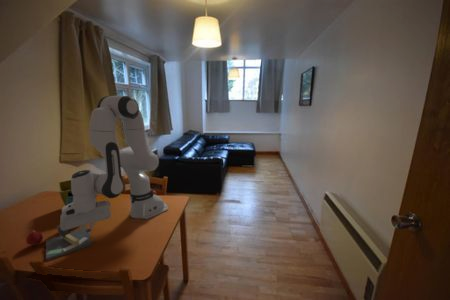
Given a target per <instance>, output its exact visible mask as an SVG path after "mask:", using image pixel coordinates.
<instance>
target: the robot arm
mask: <svg viewBox="0 0 450 300" xmlns="http://www.w3.org/2000/svg"><path fill="white" fill-rule="evenodd" d="M139 107H140V106H139V103H138V101H137V99H135V98H134V97H132V96H130V95H106V96H104V97H101V98H100V99H99V100H98V103H97V107H96V108H94V109H93V110H92V111H91V115H90V119H89V126H88V127H89V129H88V134H89V135H88V136H89V141H90V142H89V143H90V144H91V146H92V147H93V148H94V149H96V150H97V151H98V152H99V153H100V154H101V156H103V159H104V161H105V162H104V163H105V173H104V172H94V171H91V170H90V169H84V170H80V171H76V172H75V173H73V174H72V176H71V179H70V180H71V190H72V194H73V202H72V203H70V204H68V205H66V206H65V205H64V206H62V208H61V213H60V216H59V217H60V219H59V220H60V221H59V225H60V227H61V230H63V231H65V230H72V229H75V228H78V227H81V228H80V229H83V230H84V231H85V233H87V232H89V233H91V232H93V227H94V225H95V223H97V222H99V221H105V220H107V219H110V218H111V217H112V213H111V210H110V208H111V201H109V200H102V201H97V196H96V197H95V195H96V194H97V195H98V194H100V195H102V196H104V197H106V198H107V199H115V198H117V197H118V196H120V195H121V194H122V193H123V192H124V189H125V181H124V178H123V176H122V170H123V171H124V172H125V174H126V176H127V178H128V182H129V189H130V192H129V199H130V203H131V205H130V213H129V216H130V217H131V218H133V219H144V220H149V219H151V218H153V217H156V216H157V215H160V214H163V213H165V212H166V211H168V210H169V207H168V205H167V203H165V202H164V200H163V199H162V197H161V196H158V195H157V191H156V190H154V189H152V188H151V182H150V177H149V176H148V175H147V174H146V173H145V172H152V171H155V170H156V169H157V168H158V167H159V163H160V159H159V157H158V156H157V154H156V153H154V152H153V151H152V149H151V148H150V146H149V144H148V142H147V137H146V136H147V135H146V130H145V122H144V117H143V113H142V112H141V110H140V108H139ZM119 118H120V119H121V120H122V129H123V136H124V142H125V144H126V145H127V146H128V147H129V148H130V149H131V150H125V151H120V149H119V146H118V143H117V136H116V135H117V134H116V133H117V132H116V129H117V128H116V122H117V120H118V119H119ZM86 225H89V227H86Z"/></svg>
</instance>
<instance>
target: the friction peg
mask: <svg viewBox="0 0 450 300" xmlns="http://www.w3.org/2000/svg"><path fill="white" fill-rule="evenodd" d="M56 229H57V234H58V235H59V236H62V239H64V240H66V241H68V242H69V243H71V244H72V245H74V246H78V245H79V240H78V239H76V238H75V237H73V236H71V235H70V234H69V233H70V231H69V230H70V229H68V230H65V231H63V230H61V227H60V224H58V225H56Z"/></svg>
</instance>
